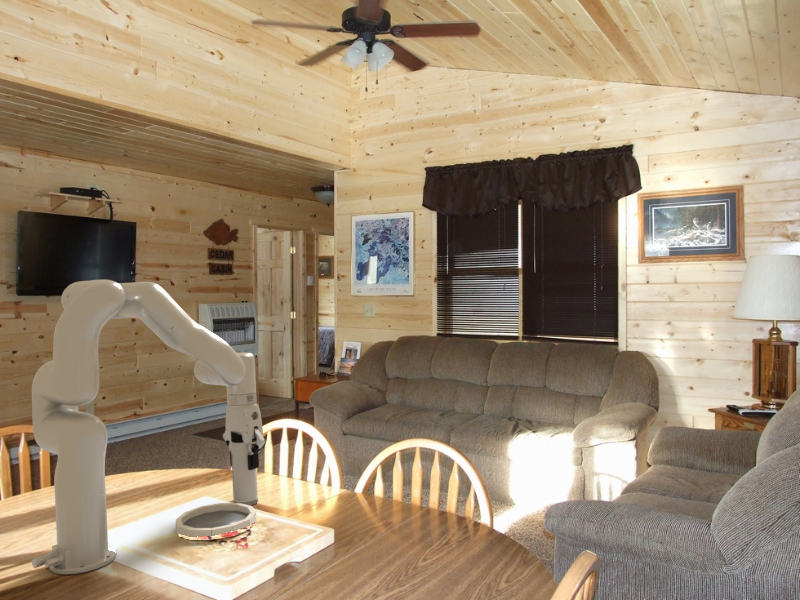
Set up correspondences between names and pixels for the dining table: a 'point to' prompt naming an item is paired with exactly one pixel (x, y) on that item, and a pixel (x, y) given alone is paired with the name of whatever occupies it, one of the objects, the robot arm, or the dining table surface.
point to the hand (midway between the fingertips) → (244, 466)
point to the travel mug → (242, 473)
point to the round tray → (215, 519)
